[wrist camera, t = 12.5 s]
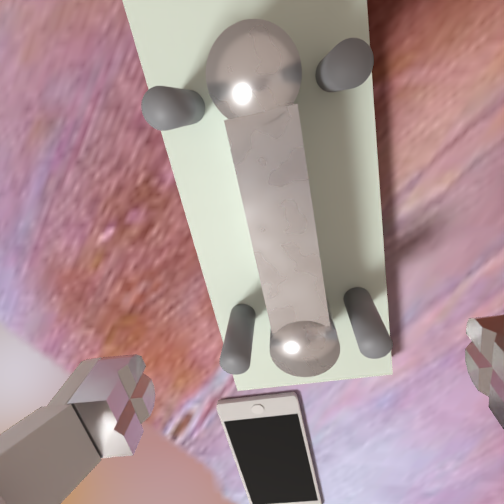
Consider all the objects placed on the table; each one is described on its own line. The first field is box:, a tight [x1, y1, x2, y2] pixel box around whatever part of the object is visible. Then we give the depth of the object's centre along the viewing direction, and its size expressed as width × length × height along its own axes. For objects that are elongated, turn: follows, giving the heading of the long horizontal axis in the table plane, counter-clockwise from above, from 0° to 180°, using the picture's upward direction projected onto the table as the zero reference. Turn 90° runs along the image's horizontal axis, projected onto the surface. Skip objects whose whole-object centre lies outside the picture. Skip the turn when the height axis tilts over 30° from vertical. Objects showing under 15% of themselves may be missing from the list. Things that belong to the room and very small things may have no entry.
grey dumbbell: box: [206, 19, 340, 377], centre depth 20 cm, size 4×19×4 cm, turn 12°
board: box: [123, 0, 393, 391], centre depth 20 cm, size 12×28×6 cm, turn 12°
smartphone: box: [217, 392, 322, 504], centre depth 33 cm, size 7×15×1 cm, turn 13°
